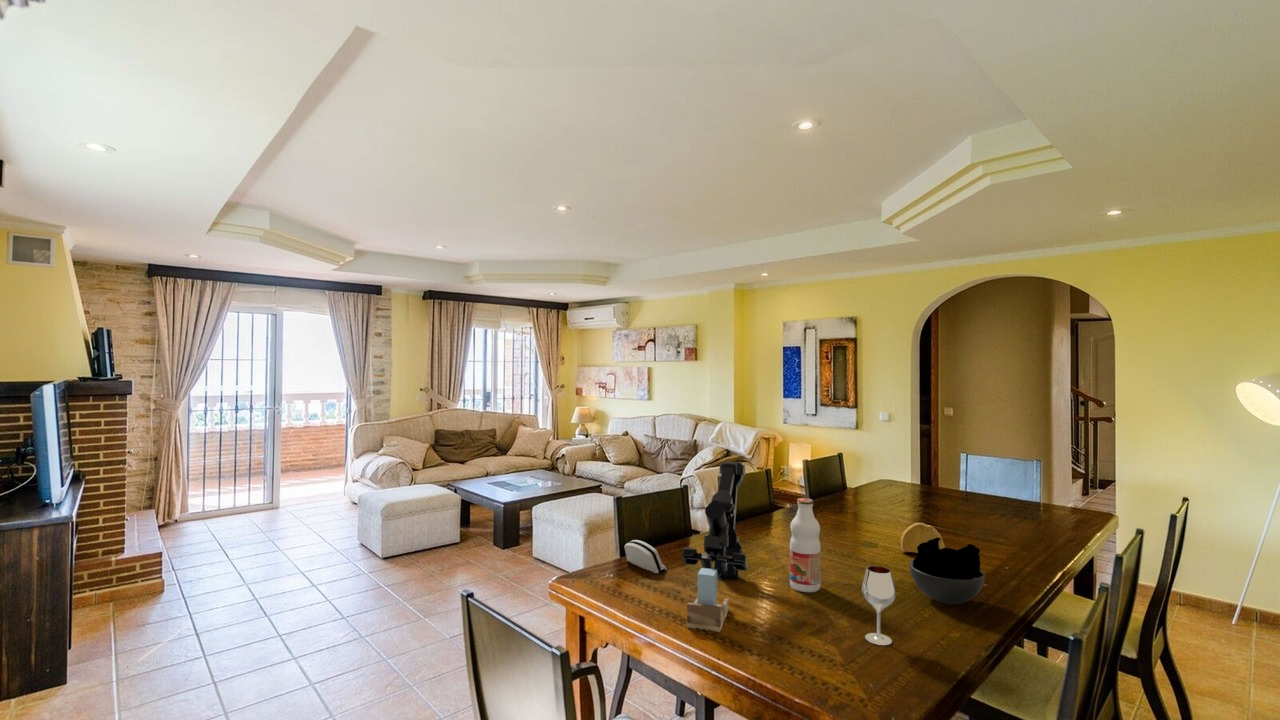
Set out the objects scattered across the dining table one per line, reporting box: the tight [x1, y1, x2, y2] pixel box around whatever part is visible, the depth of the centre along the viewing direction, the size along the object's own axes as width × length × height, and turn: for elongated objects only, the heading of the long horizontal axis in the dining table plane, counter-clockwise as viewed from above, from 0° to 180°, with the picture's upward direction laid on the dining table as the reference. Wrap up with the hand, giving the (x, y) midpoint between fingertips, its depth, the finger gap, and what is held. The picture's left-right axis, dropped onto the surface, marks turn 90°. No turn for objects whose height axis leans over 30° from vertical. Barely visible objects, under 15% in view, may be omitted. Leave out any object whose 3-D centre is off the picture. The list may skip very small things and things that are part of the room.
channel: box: [686, 597, 730, 633], centre depth 161 cm, size 15×9×6 cm, turn 162°
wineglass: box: [861, 565, 897, 646], centre depth 149 cm, size 8×8×18 cm
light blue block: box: [696, 567, 718, 606], centre depth 159 cm, size 5×4×12 cm
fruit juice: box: [789, 497, 821, 593], centre depth 184 cm, size 9×9×28 cm
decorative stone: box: [900, 522, 946, 554], centre depth 220 cm, size 13×15×15 cm
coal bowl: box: [909, 538, 986, 605], centre depth 173 cm, size 20×20×19 cm
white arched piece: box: [623, 539, 668, 574], centre depth 202 cm, size 17×5×10 cm, turn 38°
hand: (710, 586), depth 164 cm, fingers closed
